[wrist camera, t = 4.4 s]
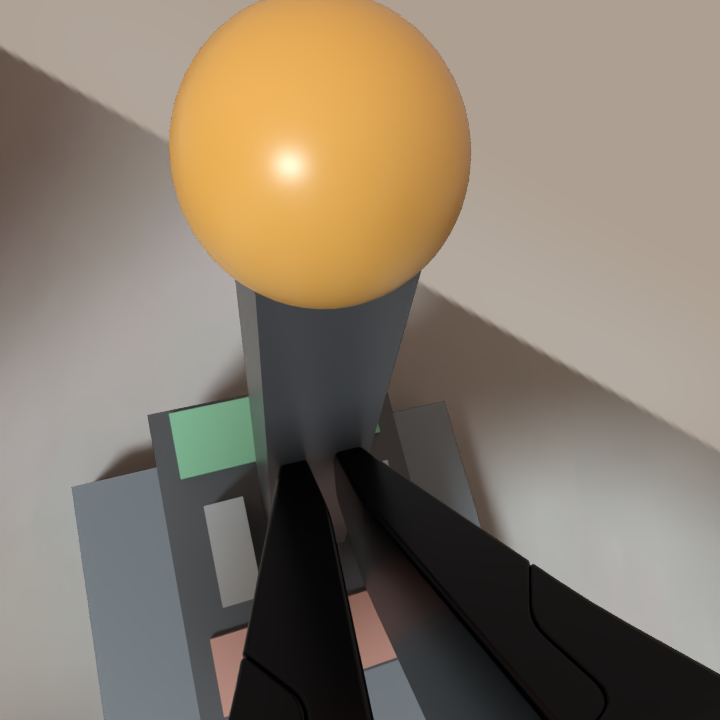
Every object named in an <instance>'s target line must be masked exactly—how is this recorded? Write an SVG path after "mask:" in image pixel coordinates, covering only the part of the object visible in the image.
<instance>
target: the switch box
mask: <svg viewBox="0 0 720 720" xmlns="http://www.w3.org/2000/svg"><path fill="white" fill-rule="evenodd" d="M148 421H149V427H150V433H151V438H152V444H153V450H154V456H155V461H156V468H152V469H147V470H143V471H139V472H135V473H130V474H126V475H122V476H117V477H113V478H109V479H104V480H100V481H96V482H91V483H87V484H83V485H78V486H74V487H72V493H73V500H74V507H75V515H76V522H77V529H78V536H79V543H80V550H81V557H82V564H83V571H84V578H85V586H86V593H87V600H88V607H89V614H90V621H91V628H92V635H93V642H94V650H95V657H96V664H97V671H98V678H99V685H100V692H101V699H102V706H103V714H104V720H228V717H229V713H230V709H231V704H232V700H233V696H234V691H235V687H236V682H237V677H238V672H239V667H240V662H241V660H242V659H243V656H242V653H243V648H244V643H245V638H246V633H247V628H248V623H249V618H250V613H251V608H252V603H253V598H254V593H255V588H256V583H257V577H258V572H259V567H260V562H261V557H262V552H263V547H264V542H265V537H266V532H267V524H266V519H265V515H264V510H263V506H262V501H261V497H260V491H259V482H258V474H257V465H256V456H255V447H254V439H253V430H252V421H251V413H250V404H249V395H248V394H247V395H242V396H237V397H232V398H227V399H223V400H218V401H213V402H208V403H203V404H199V405H194V406H189V407H184V408H179V409H175V410H170V411H165V412H160V413H155V414H151V415H148ZM370 453H371V454H372V455H374V456H375V457H377V458H378V459H380V460H381V461H383V462H384V463H385V464H387V465H388V466H390V467H391V468H393V469H394V470H396V471H397V472H399V473H400V474H402V475H403V476H405V477H406V478H408V479H409V480H411V481H412V482H413V483H415V484H416V485H418V486H419V487H421V488H422V489H424V490H425V491H427V492H428V493H430V494H431V495H433V496H434V497H436V498H437V499H439V500H440V501H441V502H443V503H444V504H446V505H447V506H449V507H450V508H452V509H453V510H455V511H456V512H458V513H459V514H461V515H462V516H464V517H465V518H467V519H468V520H469V521H471V522H472V523H474V524H475V525H477V526H478V527H480V528H481V526H480V523H479V519H478V516H477V512H476V509H475V505H474V502H473V498H472V495H471V492H470V488H469V485H468V481H467V478H466V474H465V471H464V467H463V464H462V461H461V457H460V454H459V450H458V447H457V443H456V440H455V436H454V433H453V430H452V426H451V423H450V419H449V416H448V412H447V409H446V406H445V402H444V401H442V402H438V403H433V404H429V405H425V406H420V407H416V408H412V409H407V410H403V411H399V412H394V413H393V412H392V408H391V405H390V401H389V397H388V394H387V393H386V396H385V400H384V403H383V407H382V410H381V414H380V418H379V421H378V425H377V428H376V432H375V435H374V439H373V442H372V446H371V449H370ZM337 546H338V551H339V556H340V561H341V565H342V570H343V575H344V580H345V584H346V589H347V594H348V599H349V603H350V608H351V613H352V618H353V622H354V627H355V632H356V637H357V641H358V646H359V651H360V656H361V660H362V665H363V670H364V675H365V679H366V684H367V689H368V694H369V698H370V703H371V708H372V713H373V717H374V720H426V719H425V717H424V715H423V713H422V710H421V708H420V706H419V704H418V702H417V700H416V697H415V695H414V693H413V691H412V689H411V687H410V684H409V682H408V680H407V678H406V676H405V673H404V671H403V669H402V667H401V665H400V663H399V660H398V658H397V656H396V654H395V652H394V649H393V647H392V645H391V643H390V641H389V639H388V636H387V634H386V632H385V630H384V628H383V626H382V623H381V621H380V619H379V617H378V615H377V612H376V610H375V608H374V606H373V604H372V601H371V599H370V597H369V594H368V592H367V589H366V587H365V584H364V581H363V578H362V575H361V572H360V569H359V566H358V563H357V560H356V556H355V553H354V550H353V547H352V544H351V541H350V538H349V534H348V531H347V534H346V537H345V541H344V542H340V543H337Z"/></svg>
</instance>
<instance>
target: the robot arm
mask: <svg viewBox="0 0 720 720" xmlns="http://www.w3.org/2000/svg"><path fill="white" fill-rule="evenodd" d="M334 473H335V486H336V494H337V499H338V503H339V506H340V509H341V513H342V516H343V519H344V522H345V525H346V528H347V531H348V534H349V538H350V541H351V544H352V547H353V550H354V553H355V556H356V560H357V563H358V566H359V569H360V572H361V575H362V578H363V581H364V584H365V587H366V589H367V592H368V594H369V597H370V599H371V601H372V604H373V606H374V608H375V610H376V612H377V615H378V617H379V619H380V621H381V623H382V626H383V628H384V630H385V632H386V634H387V636H388V639H389V641H390V643H391V645H392V647H393V649H394V652H395V654H396V656H397V658H398V660H399V663H400V665H401V667H402V669H403V671H404V673H405V676H406V678H407V680H408V682H409V684H410V687H411V689H412V691H413V693H414V695H415V697H416V700H417V702H418V704H419V706H420V708H421V710H422V713H423V715H424V717H425V719H426V720H720V674H719V673H717V672H715V671H713V670H711V669H710V668H708V667H706V666H704V665H702V664H701V663H699V662H697V661H695V660H693V659H692V658H690V657H688V656H686V655H684V654H683V653H681V652H679V651H677V650H675V649H674V648H672V647H670V646H668V645H666V644H665V643H663V642H661V641H659V640H657V639H656V638H654V637H652V636H650V635H648V634H647V633H645V632H643V631H641V630H639V629H638V628H636V627H634V626H632V625H630V624H629V623H627V622H625V621H624V620H622V619H620V618H618V617H617V616H615V615H613V614H612V613H610V612H608V611H606V610H605V609H603V608H601V607H599V606H598V605H596V604H594V603H593V602H591V601H589V600H588V599H586V598H585V597H583V596H582V595H580V594H579V593H577V592H575V591H574V590H572V589H571V588H569V587H568V586H566V585H565V584H563V583H561V582H560V581H558V580H557V579H555V578H554V577H552V576H551V575H549V574H548V573H546V572H545V571H543V570H542V569H541V568H539V567H538V566H536V565H534V564H532V565H530V563H529V561H528V560H527V559H525V558H524V557H522V556H521V555H520V554H518V553H517V552H515V551H514V550H512V549H511V548H509V547H508V546H506V545H505V544H503V543H502V542H500V541H499V540H497V539H496V538H494V537H493V536H492V535H490V534H489V533H487V532H486V531H484V530H483V529H481V528H480V527H478V526H477V525H475V524H474V523H472V522H471V521H469V520H468V519H467V518H465V517H464V516H462V515H461V514H459V513H458V512H456V511H455V510H453V509H452V508H450V507H449V506H447V505H446V504H444V503H443V502H441V501H440V500H439V499H437V498H436V497H434V496H433V495H431V494H430V493H428V492H427V491H425V490H424V489H422V488H421V487H419V486H418V485H416V484H415V483H413V482H412V481H411V480H409V479H408V478H406V477H405V476H403V475H402V474H400V473H399V472H397V471H396V470H394V469H393V468H391V467H390V466H388V465H387V464H385V463H384V462H383V461H381V460H380V459H378V458H377V457H375V456H374V455H372V454H371V453H369V452H368V451H366V450H365V449H363V448H362V447H356V448H352V449H348V450H344V451H340V452H337V453H336V454H335V456H334ZM242 656H243V659H242V660H241V662H240V667H239V672H238V677H237V682H236V687H235V691H234V696H233V700H232V704H231V709H230V713H229V717H228V720H374V717H373V713H372V708H371V703H370V698H369V694H368V689H367V684H366V679H365V675H364V670H363V665H362V660H361V656H360V651H359V646H358V641H357V637H356V632H355V627H354V622H353V618H352V613H351V608H350V603H349V599H348V594H347V589H346V584H345V580H344V575H343V570H342V565H341V561H340V556H339V551H338V546H337V542H336V537H335V532H334V527H333V523H332V519H331V515H330V512H329V509H328V507H327V504H326V502H325V500H324V498H323V495H322V493H321V491H320V489H319V486H318V484H317V482H316V480H315V478H314V475H313V473H312V471H311V469H310V466H309V464H308V462H307V461H306V460H303V461H299V462H294V463H290V464H286V465H282V466H280V468H279V471H278V476H277V481H276V486H275V491H274V496H273V502H272V507H271V512H270V517H269V522H268V527H267V532H266V537H265V542H264V547H263V552H262V557H261V562H260V567H259V572H258V577H257V583H256V588H255V593H254V598H253V603H252V608H251V613H250V618H249V623H248V628H247V633H246V638H245V643H244V648H243V653H242Z"/></svg>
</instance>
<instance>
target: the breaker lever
mask: <svg viewBox="0 0 720 720" xmlns="http://www.w3.org/2000/svg"><path fill="white" fill-rule="evenodd" d="M169 155H170V165H171V173H172V180H173V184H174V187H175V190H176V194H177V197H178V200H179V204H180V207H181V210H182V212H183V214H184V216H185V218H186V220H187V222H188V224H189V226H190V228H191V230H192V232H193V233H194V235H195V237H196V238H197V239H198V241H199V242H200V243H201V245H202V246H203V248H204V249H205V250H206V251H207V253H208V254H209V255H210V257H211V258H212V259H213V260H214V261H215V262H216V263H217V264H218V265H219V266H220V267H221V268H222V269H223V270H225V271H226V272H227V273H228V274H229V275H230V276H231V277H233V278H234V279H235V282H236V290H237V299H238V308H239V316H240V325H241V334H242V343H243V351H244V360H245V369H246V378H247V386H248V395H249V404H250V413H251V421H252V430H253V439H254V447H255V456H256V465H257V474H258V482H259V491H260V497H261V501H262V506H263V510H264V515H265V519H266V524H267V527H268V522H269V517H270V512H271V507H272V502H273V496H274V491H275V486H276V481H277V476H278V471H279V468H280V466H282V465H286V464H290V463H294V462H299V461H303V460H306V461H307V462H308V464H309V466H310V469H311V471H312V473H313V475H314V478H315V480H316V482H317V484H318V486H319V489H320V491H321V493H322V495H323V498H324V500H325V502H326V504H327V507H328V509H329V512H330V515H331V519H332V523H333V527H334V532H335V537H336V542H337V543H340V542H344V541H345V537H346V534H347V528H346V525H345V522H344V519H343V516H342V513H341V509H340V506H339V503H338V499H337V494H336V486H335V473H334V456H335V454H336V453H337V452H340V451H344V450H348V449H352V448H356V447H362V448H363V449H365V450H366V451H368V452H369V453H370V449H371V446H372V442H373V439H374V435H375V432H376V428H377V425H378V421H379V418H380V414H381V410H382V407H383V403H384V400H385V396H386V393H387V389H388V386H389V382H390V379H391V375H392V372H393V368H394V365H395V361H396V358H397V354H398V350H399V347H400V343H401V340H402V336H403V333H404V329H405V326H406V322H407V319H408V315H409V312H410V308H411V305H412V301H413V298H414V294H415V291H416V287H417V283H418V280H419V276H420V273H421V270H422V269H423V268H424V267H425V266H426V265H427V264H428V263H429V262H430V261H431V260H432V259H433V258H434V256H435V255H436V254H437V252H438V251H439V250H440V248H441V247H442V246H443V244H444V243H445V241H446V239H447V238H448V236H449V235H450V233H451V231H452V229H453V227H454V225H455V223H456V221H457V218H458V216H459V214H460V211H461V209H462V205H463V201H464V198H465V195H466V191H467V186H468V182H469V174H470V161H471V142H470V131H469V124H468V119H467V114H466V110H465V106H464V103H463V100H462V97H461V94H460V92H459V89H458V87H457V84H456V82H455V80H454V77H453V76H452V74H451V72H450V70H449V69H448V67H447V65H446V64H445V62H444V60H443V59H442V57H441V56H440V54H439V53H438V51H437V50H436V49H435V48H434V47H433V45H432V44H431V43H430V42H429V41H428V40H427V38H426V37H425V36H424V35H423V34H422V33H421V32H420V31H419V30H418V29H417V28H416V27H414V26H413V25H412V24H411V23H409V22H408V21H407V20H405V19H404V18H403V17H401V16H400V15H399V14H397V13H396V12H394V11H393V10H391V9H389V8H388V7H385V6H384V5H382V4H380V3H377V2H375V1H372V0H261V1H259V2H257V3H255V4H253V5H250V6H248V7H247V8H245V9H243V10H241V11H240V12H238V13H237V14H236V15H234V16H233V17H232V18H230V19H229V20H228V21H227V22H225V23H224V24H223V25H222V26H220V27H219V28H218V29H217V30H216V31H215V32H214V33H213V34H212V36H211V37H210V38H209V39H208V40H207V41H206V43H205V44H204V45H203V46H202V47H201V48H200V50H199V51H198V53H197V54H196V56H195V58H194V59H193V61H192V63H191V64H190V66H189V68H188V69H187V71H186V73H185V75H184V78H183V81H182V83H181V86H180V88H179V91H178V94H177V96H176V99H175V103H174V108H173V113H172V117H171V125H170V137H169Z"/></svg>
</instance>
